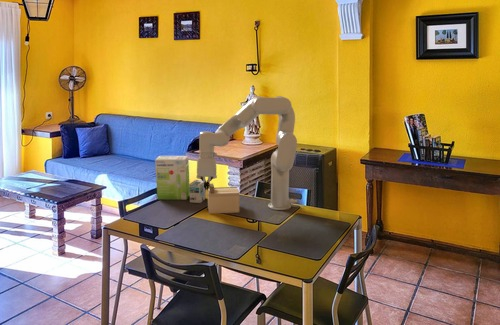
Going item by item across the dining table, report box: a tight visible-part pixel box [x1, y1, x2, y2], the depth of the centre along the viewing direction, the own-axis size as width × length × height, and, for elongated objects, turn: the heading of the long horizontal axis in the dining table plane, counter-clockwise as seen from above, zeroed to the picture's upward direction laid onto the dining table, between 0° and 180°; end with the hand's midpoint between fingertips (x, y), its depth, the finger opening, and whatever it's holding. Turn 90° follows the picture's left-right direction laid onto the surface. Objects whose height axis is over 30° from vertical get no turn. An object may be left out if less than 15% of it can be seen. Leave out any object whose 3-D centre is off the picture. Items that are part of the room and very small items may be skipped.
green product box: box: [154, 155, 191, 200], centre depth 241 cm, size 18×10×24 cm, turn 88°
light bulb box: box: [189, 179, 207, 204], centre depth 238 cm, size 11×7×11 cm, turn 168°
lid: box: [207, 183, 240, 194], centre depth 221 cm, size 16×10×4 cm, turn 99°
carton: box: [207, 186, 240, 215], centre depth 223 cm, size 16×12×11 cm
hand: (206, 188), depth 220 cm, fingers closed
